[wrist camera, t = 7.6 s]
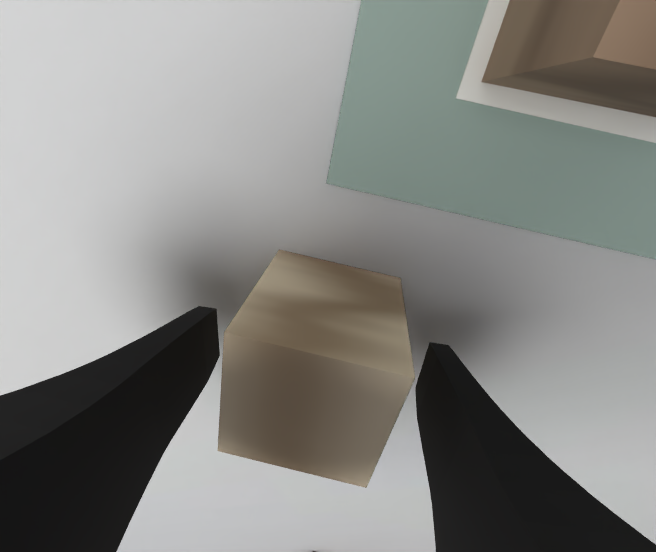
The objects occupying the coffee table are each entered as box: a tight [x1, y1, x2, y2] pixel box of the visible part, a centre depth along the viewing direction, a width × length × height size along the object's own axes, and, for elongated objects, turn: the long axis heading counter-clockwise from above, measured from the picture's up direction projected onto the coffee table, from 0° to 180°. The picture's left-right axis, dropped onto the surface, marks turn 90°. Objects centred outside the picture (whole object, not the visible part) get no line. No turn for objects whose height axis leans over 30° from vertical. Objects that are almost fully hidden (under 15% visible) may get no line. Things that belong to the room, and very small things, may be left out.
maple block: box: [218, 250, 415, 488], centre depth 11 cm, size 4×4×5 cm
